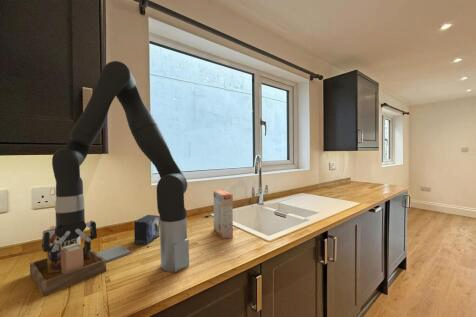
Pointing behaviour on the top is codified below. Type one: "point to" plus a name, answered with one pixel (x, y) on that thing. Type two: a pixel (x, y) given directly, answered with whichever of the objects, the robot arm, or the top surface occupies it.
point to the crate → (67, 278)
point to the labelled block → (71, 258)
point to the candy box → (58, 251)
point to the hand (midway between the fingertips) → (71, 257)
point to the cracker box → (223, 213)
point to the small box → (146, 229)
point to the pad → (114, 253)
